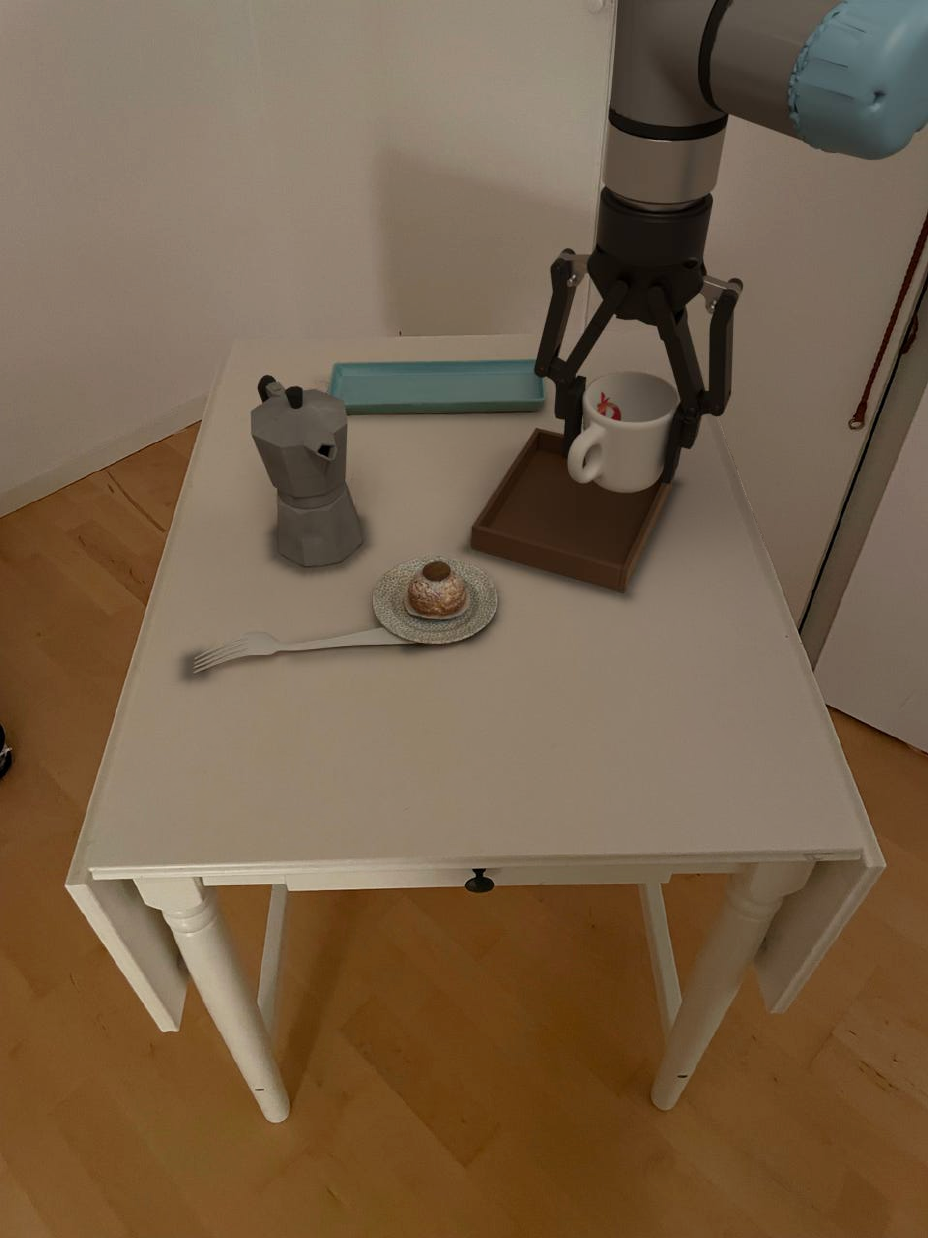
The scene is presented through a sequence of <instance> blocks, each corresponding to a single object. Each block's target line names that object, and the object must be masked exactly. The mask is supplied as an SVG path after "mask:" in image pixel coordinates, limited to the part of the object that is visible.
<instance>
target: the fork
mask: <svg viewBox="0 0 928 1238" xmlns="http://www.w3.org/2000/svg"><path fill="white" fill-rule="evenodd" d="M417 643H418V642H414V641H412V642H409V641H407V640H406V639H405V638H403V637H400V636H398V635H396V634H394V633H392V632H390V631H389V630H388V629H386V628H385V627H384V626H382V627H377V628H376V627H375V628H373V629H368V630H364V631H359V632H355V633H350V634H345V635H341V636H337V637H330V638H325V639H319V640H318V639H317V640H313V641H312V640H311V641H305V642H292V643H290V642H284V641H280V640H278V639H277V638H275V637H274V636H273V634H271V633H269V632H267V631H251V632H246V633H243V634H239V635H237V636H234V637H232V638H229V639H228V640H225V641H223V642H222V643H219V644H217V645H216V646H214V647H211V648H209V649H208V650H206V651H204V652H202V653H201V654H199V655H197V656H195V657H194V660H197V659H198V660H197V661H195V662H193V665H195V666H194V667H193V669H196V670H195V671H193V674H196V673H199V672H201V671H204V670H206V669H209V668H211V667H214V666H217V665H219V664H222V663H225V662H227V661H231V660H233V659H237V658H241V657H244V656H245V657H246V656H269V655H273V654H274V653H275V652H280V651H306V650H315V649H327V648H337V647H353V646H375V645H376V646H377V645H378V646H379V645H409V644H410V645H412V644H417ZM196 664H197V665H196ZM206 664H207V665H206ZM204 665H205V666H204ZM201 666H202V667H201ZM200 667H201V668H200ZM197 668H199V669H197Z"/></svg>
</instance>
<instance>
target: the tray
mask: <svg viewBox="0 0 928 1238" xmlns="http://www.w3.org/2000/svg"><path fill="white" fill-rule="evenodd" d="M563 437H564V433H558V432H555V431H551V430H547V429H543V428H539V427H535V428H534V430H533V432H532V433H531V435H530V436H529V438H528V439H527V441H526V442H525V444H524V445H523V446H522V449H521V450H520V451H519V453H518V455H517V456H516V458H515V459H514V461H513V463H512V464H511V466H510V467H509V468H508V470H507V472H506V473H505V475H504V476H503V478H502V480H501V481H500V483H499V484H498V486H497V487H496V489H495V490H494V492H493V493H492V495H491V496H490V497H489V500H488V501H487V502H486V504H485V506H484V507H483V509H482V510H481V512H480V514H479V515H478V516H477V518H476V520H475V521H474V523H473V524H472V526H471V550H475V551H477V552H481V553H484V554H487V555H491V556H495V557H499V558H502V559H506V560H509V561H512V562H515V563H519V564H523V565H527V566H530V567H533V568H536V569H540V570H542V571H543V570H544V571H548V572H551V573H554V574H557V575H561V576H564V577H568V578H572V579H574V580H575V579H576V580H577V581H581V582H585V583H589V584H592V585H595V586H599V587H602V588H605V589H606V588H607V589H610V590H613V591H616V592H619V593H623V594H624V593H625V592H626V590H627V588H628V585H629V583H630V581H631V579H632V576H633V574H634V572H635V570H636V568H637V565H638V564H639V561H640V558H641V557H642V554H643V552H644V550H645V547H646V545H647V543H648V541H649V539H650V536H651V534H652V532H653V530H654V528H655V525H656V523H657V521H658V519H659V516H660V514H661V512H662V510H663V507H664V506H665V503H666V501H667V499H668V496H669V493H671V489H672V487H673V485H674V482H675V476H676V472H677V470H676V471H675V474H674V476H673V478H672V480H671V483H670V484H666V483H662V482H661V479H662V474H663V471H662V473H661V475H660V477H659V478H658V480H657V481H656V482H655V483H654V484H653V485H651V486H650V487H648V488H646V489H644V490H641V491H638V492H632V493H619V492H614V491H610V490H607V489H605V488H603V487H601V486H599V485H598V484H597V483H595V482H594V481H593V480H592V481H590V482H588V483H579V482H577V481H575V480H574V479H573V478H572V477H571V476H570V474H569V471H568V459H565V458H562V449H563ZM585 465H586V462H585V457H584V460H583V465H582V469H583V468H584V467H585Z"/></svg>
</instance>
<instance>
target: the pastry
mask: <svg viewBox="0 0 928 1238" xmlns="http://www.w3.org/2000/svg"><path fill="white" fill-rule="evenodd" d="M498 599H499V598H498V592H497V589H496V586H495V585H494V583H493V581H492V579H491V578H490V577H489V575H488V574H487V573H486V572H484V571H483V570H482V569H481V568H479V567H477V566H476V565H473V564H472V563H469V562H466V561H464V560H461V559H458V558H454V557H445V556H440V555H439V556H438V555H432V556H431V555H430V556H421V557H417V558H413V559H410V560H408V561H405V562H402V563H398V564H397V565H395V566H394V567H393V568H391V569H390V570H389V571H387V572H385V573H384V574H383V575H382V576H381V577H380V578H379V579H378V580H377V583H376V584H375V586H374V588H373V592H372V599H371V600H372V601H371V604H372V609H373V611H374V614H375V617H376V618H377V620H378V622H380V624H381V625H382V627H385V628H386V629H388V630H389V631H390V632H392V633H394V634H396V635H398V636H400V637H403V638H405V639H406V640H407V641H409V642H412V641H414V642H417V643H418V644H430V645H436V644H437V645H441V644H450V643H454V642H458V641H459V642H460V641H462V640H465V639H467V638H469V637H472V636H473V635H475V634H477V633H478V632H480V631H481V630H482V629H484V628H485V627H486V626H487V625H489V623H490V622H491V621H492V619H493V618H494V616H495V614H496V611H497V609H498V603H499V601H498Z"/></svg>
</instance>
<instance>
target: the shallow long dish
mask: <svg viewBox="0 0 928 1238" xmlns="http://www.w3.org/2000/svg"><path fill="white" fill-rule="evenodd" d="M536 359H537V358H519V359H518V358H517V359H516V358H515V359H513V358H511V359H478V360H475V359H470V360H469V359H468V360H467V359H466V360H418V361H417V360H413V361H412V360H409V361H407V360H406V361H403V360H401V361H354V362H353V361H352V362H336V363H333V365H332V369H331V375H330V380H329V384H328V389H327V394H329V395H331V396H334V397H336V398H339V399H341V400H343V401H344V403H345V409H346V415H383V414H384V415H387V414H389V415H391V414H393V415H395V414H396V415H397V414H403V415H404V414H448V413H449V414H452V413H492V412H494V413H495V412H496V413H497V412H532V411H533V412H535V411H538V410H539V409H541V406H542V405H543V404H544V402H545V401H546V400H547V391H546V384H545V377H544V378H540V377H538V376H537V375H536V374H535V372H534V367H535V363H536Z"/></svg>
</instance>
